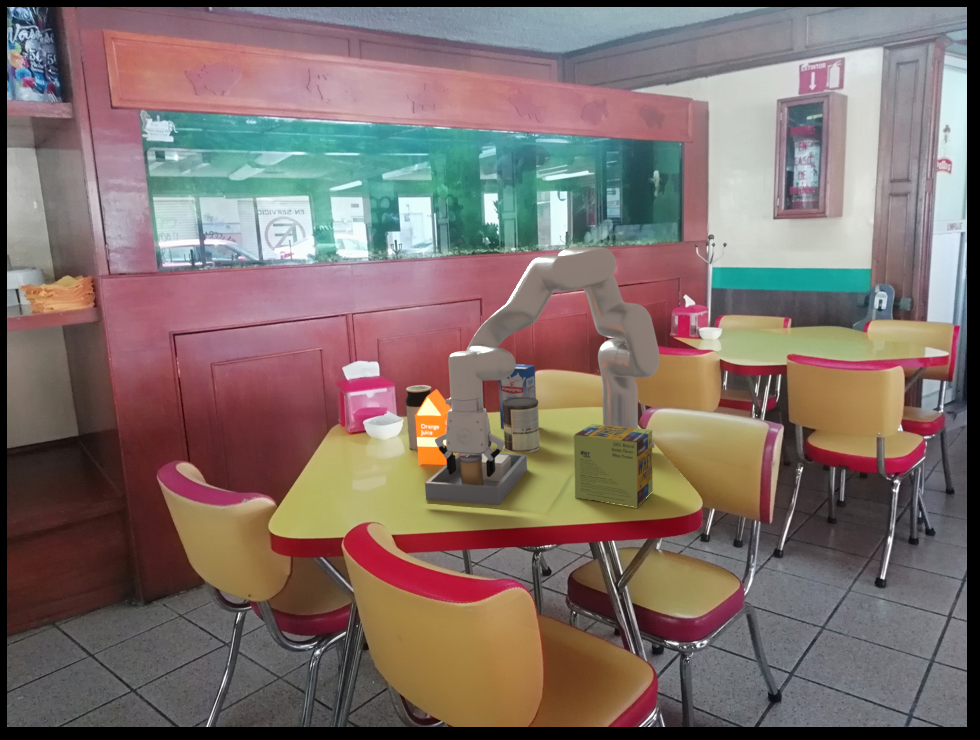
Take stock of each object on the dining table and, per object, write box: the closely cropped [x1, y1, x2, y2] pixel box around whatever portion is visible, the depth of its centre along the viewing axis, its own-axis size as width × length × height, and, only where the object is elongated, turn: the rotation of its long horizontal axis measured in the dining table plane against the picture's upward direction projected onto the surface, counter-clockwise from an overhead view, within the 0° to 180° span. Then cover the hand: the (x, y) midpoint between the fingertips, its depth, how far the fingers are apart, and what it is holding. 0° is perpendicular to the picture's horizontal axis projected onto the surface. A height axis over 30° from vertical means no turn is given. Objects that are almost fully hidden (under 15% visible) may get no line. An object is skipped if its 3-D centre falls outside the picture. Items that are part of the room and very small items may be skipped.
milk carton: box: [498, 363, 537, 429], centre depth 219 cm, size 10×6×20 cm, turn 58°
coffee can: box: [502, 397, 541, 453], centre depth 198 cm, size 10×10×14 cm
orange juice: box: [415, 388, 455, 467], centre depth 189 cm, size 8×9×20 cm
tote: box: [424, 452, 528, 510], centre depth 169 cm, size 18×24×5 cm
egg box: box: [482, 454, 511, 481], centre depth 175 cm, size 11×7×5 cm, turn 72°
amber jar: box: [459, 453, 484, 485], centre depth 164 cm, size 5×5×9 cm
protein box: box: [573, 423, 654, 508], centre depth 159 cm, size 10×15×16 cm
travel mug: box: [405, 384, 432, 451], centre depth 204 cm, size 8×8×18 cm
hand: (471, 473), depth 164 cm, fingers open, 9 cm apart
